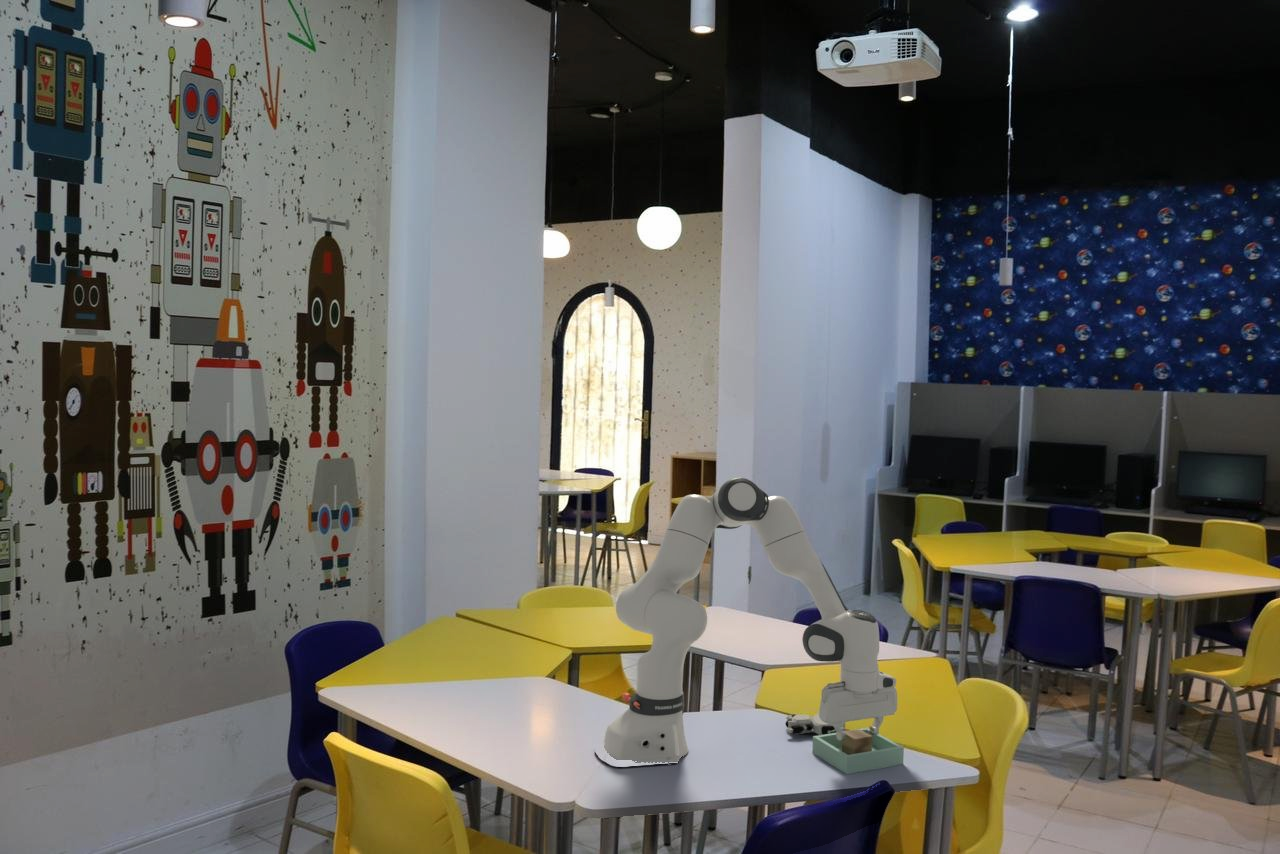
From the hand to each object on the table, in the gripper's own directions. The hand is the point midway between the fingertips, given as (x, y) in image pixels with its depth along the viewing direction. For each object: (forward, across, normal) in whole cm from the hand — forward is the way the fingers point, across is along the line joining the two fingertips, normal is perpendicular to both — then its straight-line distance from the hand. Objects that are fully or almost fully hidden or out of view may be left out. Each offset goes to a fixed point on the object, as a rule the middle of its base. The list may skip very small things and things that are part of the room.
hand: (857, 736), depth 241 cm
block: (+4, 0, 0) cm, 5 cm away
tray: (+5, 0, 0) cm, 5 cm away
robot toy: (+6, 0, +18) cm, 19 cm away
